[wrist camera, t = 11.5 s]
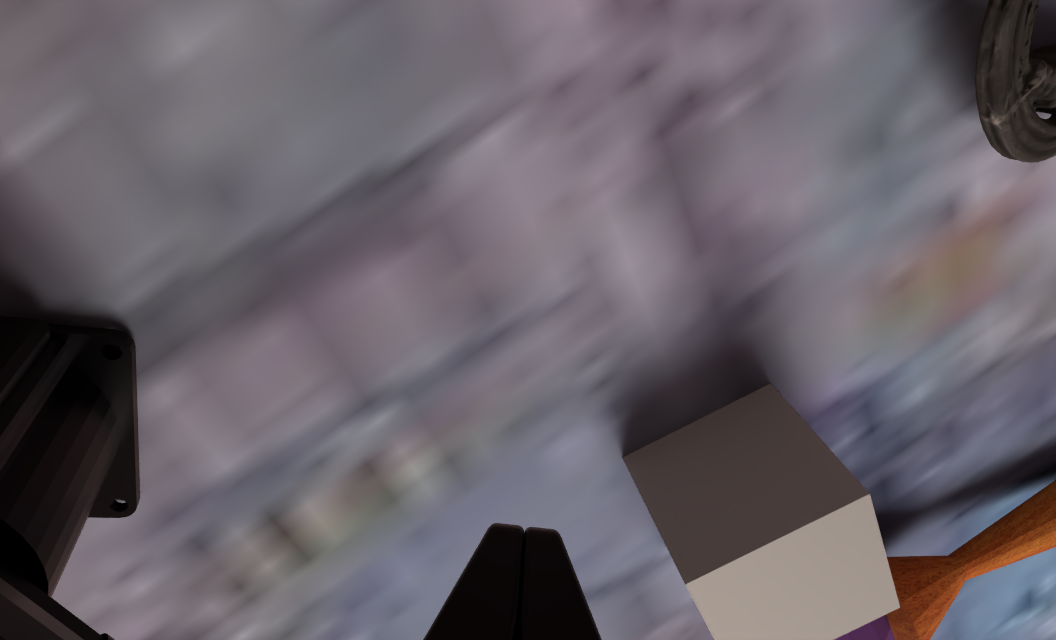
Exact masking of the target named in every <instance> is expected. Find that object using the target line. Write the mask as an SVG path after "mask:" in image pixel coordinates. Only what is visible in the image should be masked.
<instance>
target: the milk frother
mask: <svg viewBox="0 0 1056 640" xmlns="http://www.w3.org/2000/svg"><path fill="white" fill-rule="evenodd" d="M1037 4H1038V0H989V2H988V6H987V9H986V13H985V17H984V20H983V24H982V28H981V33H980V38H979V44H978V54H977V62H976V77H975V86H976V100H977V105H978V111H979V117H980V121H981V124H982V127H983V130H984V132H985V134H986V136H987V138H988V140H989V142H990V144H991V146H992V147H993V148H994V149H995V150H996V151H997V152H998V153H1000V154H1001V155H1002V156H1004V157H1007V158H1009V159H1014V160H1019V161H1022V162H1039V161H1043V160H1046V159H1049V158H1051V157H1053V156H1055V155H1056V45H1051V46H1045V47H1040V48H1038V49H1036V50H1035V51H1034V52H1033V53H1029V46H1030V44H1031V35H1032V31H1033V25H1034V18H1035V16H1036V13H1037V10H1038V7H1039V6H1038V5H1037ZM1036 112H1044V113H1049V114H1051V117H1050V118H1048V119H1042V118H1040V117H1039V116H1038V115H1037V113H1036Z"/></svg>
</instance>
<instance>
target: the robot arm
mask: <svg viewBox="0 0 1056 640" xmlns="http://www.w3.org/2000/svg"><path fill="white" fill-rule="evenodd" d="M109 344H112V345H116V346H117V347H119V348H120V349H121V352H120V353H114V352H111V351H109V350H108V349H107V347H106V345H109ZM115 499H121V500H124V501H125V502H126V503H120V502H117V501H116V500H115ZM139 499H140V478H139V446H138V414H137V382H136V350H135V343H134V340H133V339H132V338H131V337H130V335H128V334H126V333H125V332H123V331H119V330H115V329H102V328H89V327H77V326H64V325H51V324H46V323H45V322H43V321H41V320H38V319H27V318H15V317H2V316H0V640H114V639H113V638H112V637H111V636H109V635H108V634H106V633H104V634H101V635H100V634H98V633H97V632H96V631H94V630H93V629H92V628H90V627H89V626H88V625H86V624H85V623H84V622H83V621H81V620H80V619H79V618H77V617H76V616H75V615H73V614H72V613H71V612H69V611H68V610H67V609H65V608H64V607H63V606H61V605H60V604H59V603H58V602H56V601H55V600H54V599H52V598H51V597H52V595H53V593H54V590H55V588H56V586H57V584H58V582H59V579H60V577H61V575H62V573H63V571H64V568H65V566H66V564H67V562H68V560H69V557H70V555H71V553H72V551H73V549H74V546H75V544H76V542H77V540H78V538H79V535H80V533H81V531H82V529H83V527H84V524H85V522H86V520H87V518H88V517H97V518H122V517H127V516H130V515H132V514H133V513H134V512H135V511H136V508H137V505H138V503H139ZM423 640H602V639H601V637H600V634H599V632H598V629H597V627H596V624H595V622H594V619H593V617H592V614H591V612H590V609H589V606H588V604H587V601H586V599H585V596H584V594H583V591H582V589H581V586H580V584H579V581H578V578H577V576H576V573H575V571H574V568H573V566H572V563H571V561H570V558H569V556H568V553H567V550H566V548H565V545H564V543H563V540H562V538H561V536H560V534H559V533H558V532H557V531H556V530H554V529H546V528H537V527H529V528H527V529H526V530H525V533H524V530H523V528H522V527H521V526H519V525H510V524H501V523H494V524H492V525H491V526H490V527H489V528H488V530H487V532H486V533H485V535H484V537H483V538H482V540H481V542H480V544H479V545H478V547H477V549H476V550H475V552H474V554H473V556H472V557H471V559H470V561H469V562H468V564H467V566H466V568H465V569H464V571H463V573H462V574H461V576H460V578H459V580H458V581H457V583H456V585H455V586H454V588H453V590H452V592H451V593H450V595H449V597H448V598H447V600H446V602H445V604H444V605H443V607H442V609H441V610H440V612H439V614H438V615H437V617H436V619H435V621H434V622H433V624H432V626H431V627H430V629H429V631H428V633H427V634H426V636H425V638H424V639H423Z"/></svg>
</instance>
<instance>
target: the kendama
mask: <svg viewBox="0 0 1056 640" xmlns="http://www.w3.org/2000/svg"><path fill="white" fill-rule="evenodd" d="M1054 547H1056V480H1055V481H1053V482H1052V483H1051V484H1049V485H1048V486H1046V487H1045V488H1044V489H1042V490H1041V491H1039V492H1038V493H1036V494H1035V495H1034V496H1032V497H1031V498H1029V499H1028V500H1026V501H1025V502H1024V503H1022V504H1021V505H1019V506H1018V507H1016V508H1015V509H1014V510H1012V511H1011V512H1009V513H1008V514H1006V515H1005V516H1004V517H1002V518H1001V519H999V520H998V521H996V522H995V523H994V524H992V525H991V526H989V527H988V528H986V529H985V530H984V531H982V532H981V533H979V534H978V535H977V536H975V537H974V538H972V539H971V540H969V541H968V542H967V543H965V544H964V545H962V546H961V547H959V548H958V549H957V550H955V551H954V552H952V553H951V554H949V555H948V556H908V557H887V560H888V564H889V567H890V571H891V575H892V579H893V582H894V586H895V590H896V594H897V597H898V601H899V605H900V608H898V609H896V610H894V611H892V612H890V613H888V614H886V615H884V616H882V617H880V618H878V619H875V620H873V621H871V622H869V623H867V624H865V625H863V626H861V627H859V628H857V629H855V630H853V631H851V632H849V633H847V634H844V635H842V636H840V637H838V638H836V639H834V640H930V639H931V637H932V635H933V634H934V632H935V630H936V629H937V627H938V626H939V624H940V622H941V621H942V619H943V617H944V616H945V614H946V612H947V611H948V609H949V607H950V606H951V604H952V602H953V601H954V599H955V597H956V596H957V594H958V593H959V591H960V589H961V588H962V586H963V584H964V583H965V581H966V580H968V579H971V578H973V577H976V576H979V575H981V574H984V573H987V572H989V571H992V570H995V569H998V568H1000V567H1003V566H1006V565H1008V564H1011V563H1014V562H1016V561H1019V560H1022V559H1024V558H1027V557H1030V556H1032V555H1035V554H1038V553H1041V552H1043V551H1046V550H1049V549H1051V548H1054Z"/></svg>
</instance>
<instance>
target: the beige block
mask: <svg viewBox="0 0 1056 640" xmlns="http://www.w3.org/2000/svg"><path fill="white" fill-rule="evenodd" d="M622 458H623V460H624V462H625V464H626V466H627V468H628V470H629V472H630V474H631V476H632V478H633V480H634V482H635V484H636V486H637V488H638V490H639V492H640V494H641V496H642V498H643V500H644V502H645V504H646V506H647V508H648V510H649V512H650V514H651V516H652V518H653V520H654V522H655V524H656V526H657V528H658V530H659V532H660V534H661V536H662V538H663V540H664V542H665V544H666V546H667V548H668V550H669V552H670V555H671V557H672V559H673V561H674V563H675V565H676V567H677V569H678V571H679V573H680V575H681V577H682V579H683V581H684V583H685V585H686V587H687V589H688V590H689V592H690V594H691V596H692V598H693V600H694V602H695V604H696V606H697V608H698V609H699V611H700V613H701V615H702V617H703V619H704V621H705V623H706V625H707V627H708V629H709V630H710V632H711V634H712V636H713V638H714V640H834V639H836V638H838V637H840V636H842V635H844V634H847V633H849V632H851V631H853V630H855V629H857V628H859V627H861V626H863V625H865V624H867V623H869V622H871V621H873V620H875V619H878V618H880V617H882V616H884V615H886V614H888V613H890V612H892V611H894V610H896V609H898V608H900V605H899V601H898V597H897V594H896V590H895V586H894V582H893V579H892V575H891V571H890V567H889V564H888V560H887V556H886V552H885V549H884V545H883V541H882V537H881V534H880V530H879V526H878V522H877V519H876V515H875V511H874V507H873V504H872V500H871V496H870V493H869V492H868V491H867V490H866V489H865V488H864V487H863V486H862V485H861V483H860V482H859V481H858V480H857V479H856V478H855V477H854V476H853V475H852V473H851V472H850V471H849V470H848V469H847V468H846V467H845V466H844V465H843V463H842V462H841V461H840V460H839V459H838V458H837V457H836V456H835V454H834V453H833V452H832V451H831V450H830V449H829V448H828V447H827V446H826V444H825V443H824V442H823V441H822V440H821V439H820V438H819V437H818V436H817V434H816V433H815V432H814V431H813V430H812V429H811V428H810V427H809V426H808V424H807V423H806V422H805V421H804V420H803V419H802V418H801V417H800V416H799V414H798V413H797V412H796V411H795V410H794V409H793V408H792V407H791V406H790V404H789V403H788V402H787V401H786V400H785V399H784V398H783V397H782V396H781V394H780V393H779V392H778V391H777V390H776V389H775V388H774V387H773V386H772V384H771V383H770V384H768V385H766V386H764V387H762V388H760V389H758V390H756V391H754V392H752V393H750V394H748V395H746V396H744V397H742V398H740V399H738V400H736V401H734V402H732V403H730V404H728V405H726V406H724V407H722V408H720V409H718V410H716V411H714V412H712V413H710V414H708V415H706V416H704V417H702V418H700V419H698V420H696V421H694V422H692V423H690V424H688V425H686V426H684V427H682V428H680V429H678V430H676V431H674V432H672V433H670V434H668V435H666V436H664V437H662V438H660V439H658V440H656V441H654V442H652V443H650V444H648V445H646V446H644V447H642V448H640V449H638V450H636V451H634V452H632V453H630V454H628V455H626V456H624V457H622Z"/></svg>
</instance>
